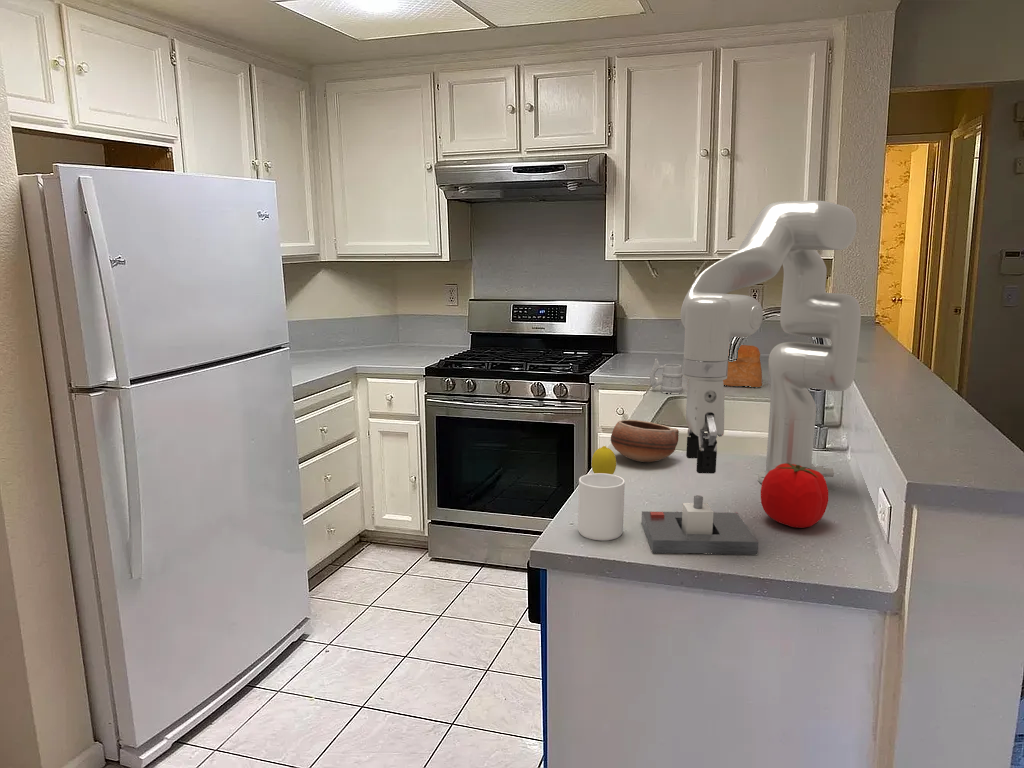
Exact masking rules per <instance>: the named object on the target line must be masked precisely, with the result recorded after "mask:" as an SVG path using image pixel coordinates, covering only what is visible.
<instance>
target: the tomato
mask: <svg viewBox="0 0 1024 768" xmlns="http://www.w3.org/2000/svg"><path fill="white" fill-rule="evenodd" d="M786 463H787V462H786ZM786 463H784V464H780V465H778V466H777V467H776V468H775V469H773V470H770V471H769V472H768V473H767V475H766V476H765V478H764V480H763V482H762V483H761V488H760V503H761V506H762V509H763V511H764V513H765V514H766V515H767V516H768V517H770V518H771V519H772V520H773V521H776V522H778V523H779V524H782V525H786V526H789V527H791V528H797V529H798V528H801V529H802V528H803V529H805V528H810V527H812V526H814V525H815V524H816V523H818V522H819V521H821V519H822V518H823V517H824V515H825V512H826V510H827V507H828V503H829V487H828V485H827V481H826V479H825V478H826V477H824V476H823V475H822V474H821V473H820V472H818V471H815V470H812V469H810V468H808V469H805V468H807V467H802V466H800V465H795V464H789V463H788V464H786ZM773 467H775V466H773Z"/></svg>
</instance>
